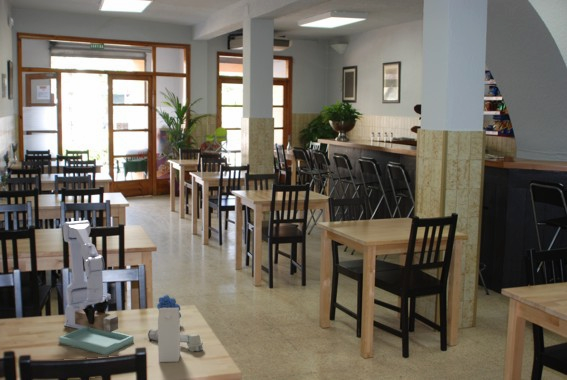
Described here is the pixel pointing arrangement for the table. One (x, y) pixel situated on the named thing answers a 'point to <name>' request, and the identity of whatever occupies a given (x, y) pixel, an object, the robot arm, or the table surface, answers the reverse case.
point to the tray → (96, 340)
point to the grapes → (167, 303)
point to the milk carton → (169, 334)
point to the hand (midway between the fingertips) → (96, 321)
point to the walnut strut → (97, 321)
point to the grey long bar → (182, 340)
